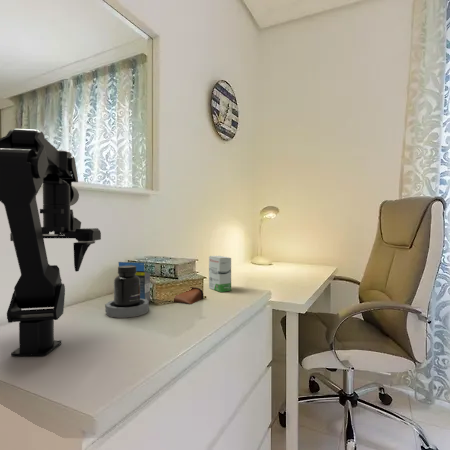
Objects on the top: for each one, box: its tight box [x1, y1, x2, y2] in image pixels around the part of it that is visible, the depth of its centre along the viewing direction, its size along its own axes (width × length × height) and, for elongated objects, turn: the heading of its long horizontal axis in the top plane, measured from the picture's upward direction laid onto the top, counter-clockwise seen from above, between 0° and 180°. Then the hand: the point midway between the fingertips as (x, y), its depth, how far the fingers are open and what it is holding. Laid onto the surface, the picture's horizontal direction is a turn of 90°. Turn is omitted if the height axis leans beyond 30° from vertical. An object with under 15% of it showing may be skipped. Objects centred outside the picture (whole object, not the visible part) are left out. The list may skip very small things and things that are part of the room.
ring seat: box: [104, 298, 150, 319], centre depth 90 cm, size 11×11×2 cm
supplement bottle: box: [113, 265, 140, 307], centre depth 90 cm, size 7×7×12 cm
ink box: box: [208, 255, 232, 293], centre depth 118 cm, size 9×5×12 cm, turn 30°
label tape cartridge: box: [118, 261, 151, 302], centre depth 101 cm, size 9×4×12 cm, turn 76°
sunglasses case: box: [173, 286, 204, 305], centre depth 105 cm, size 18×7×7 cm, turn 70°
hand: (57, 271), depth 78 cm, fingers open, 9 cm apart
